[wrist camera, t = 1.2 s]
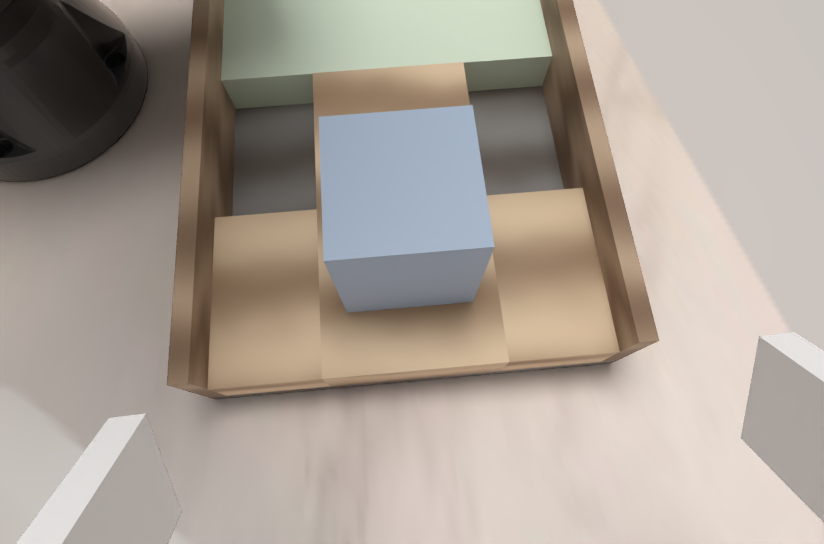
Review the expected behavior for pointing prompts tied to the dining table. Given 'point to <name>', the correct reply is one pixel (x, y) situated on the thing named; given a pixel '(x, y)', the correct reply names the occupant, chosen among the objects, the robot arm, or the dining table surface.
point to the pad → (376, 43)
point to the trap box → (414, 326)
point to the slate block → (404, 207)
